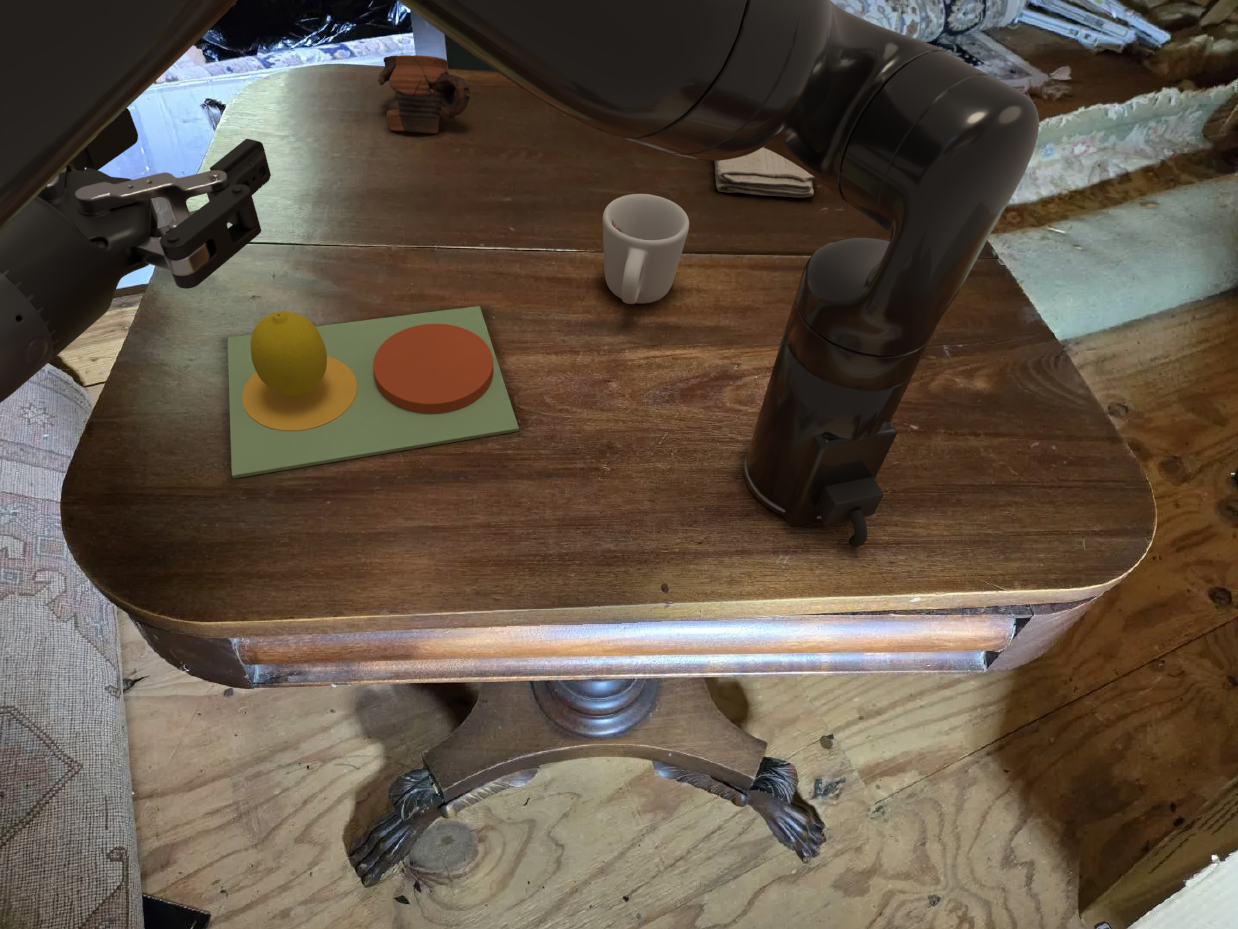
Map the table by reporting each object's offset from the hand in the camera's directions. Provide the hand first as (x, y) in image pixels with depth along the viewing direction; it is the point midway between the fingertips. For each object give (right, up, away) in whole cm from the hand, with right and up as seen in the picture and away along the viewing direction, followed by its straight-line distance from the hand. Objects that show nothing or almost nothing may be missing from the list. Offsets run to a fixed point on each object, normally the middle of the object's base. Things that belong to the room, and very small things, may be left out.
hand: (193, 137), depth 48 cm
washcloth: (+41, +18, +54) cm, 70 cm away
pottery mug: (+1, +23, +53) cm, 58 cm away
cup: (+26, -2, +35) cm, 43 cm away
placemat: (+3, -12, +24) cm, 27 cm away
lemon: (-2, -13, +22) cm, 25 cm away
